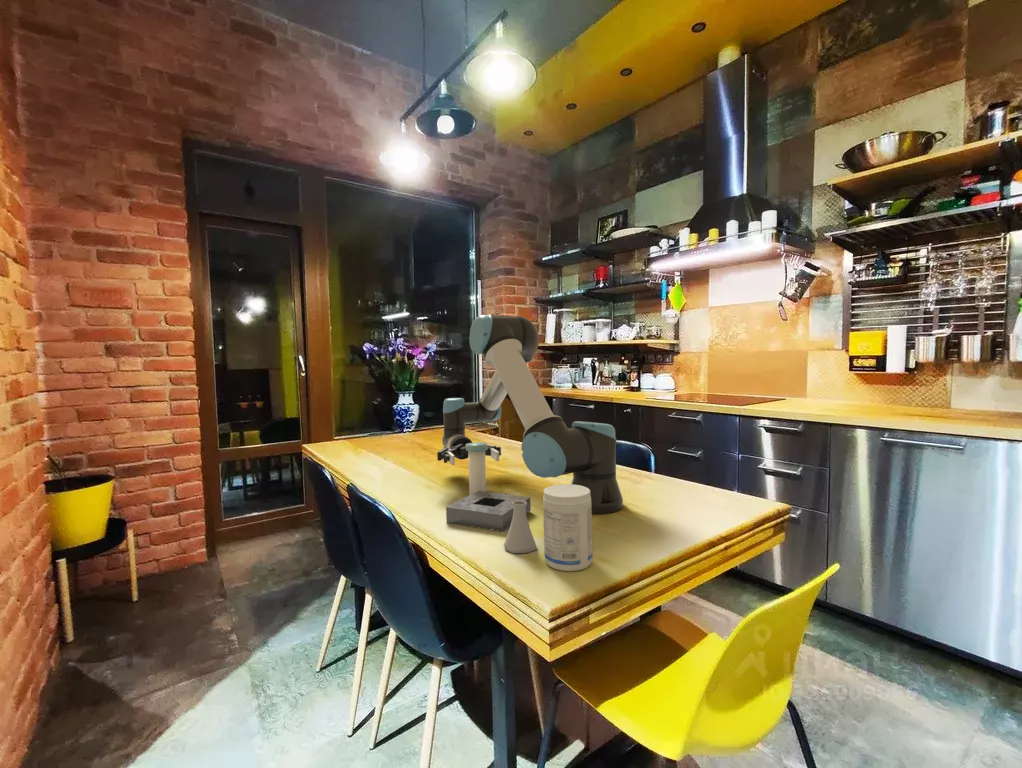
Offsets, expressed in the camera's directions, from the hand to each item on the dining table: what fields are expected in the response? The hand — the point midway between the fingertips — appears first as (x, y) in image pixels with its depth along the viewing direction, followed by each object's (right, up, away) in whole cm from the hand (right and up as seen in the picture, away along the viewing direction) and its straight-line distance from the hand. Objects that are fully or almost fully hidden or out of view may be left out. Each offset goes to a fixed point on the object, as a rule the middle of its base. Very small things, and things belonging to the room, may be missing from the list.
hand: (476, 458), depth 141 cm
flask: (+12, -14, -38) cm, 42 cm away
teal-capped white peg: (0, -12, +1) cm, 12 cm away
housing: (+5, -13, -17) cm, 22 cm away
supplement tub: (+22, -14, -46) cm, 53 cm away
